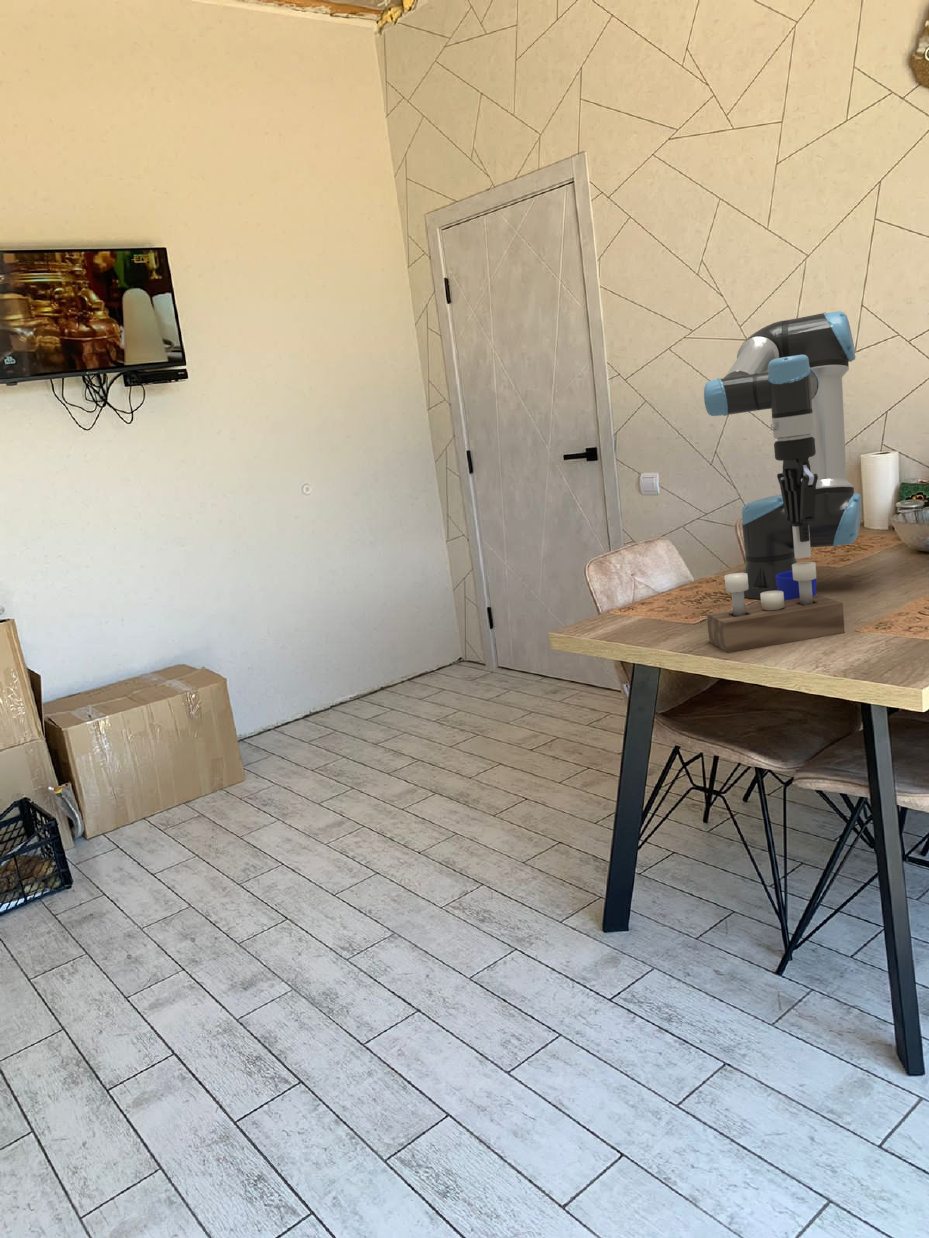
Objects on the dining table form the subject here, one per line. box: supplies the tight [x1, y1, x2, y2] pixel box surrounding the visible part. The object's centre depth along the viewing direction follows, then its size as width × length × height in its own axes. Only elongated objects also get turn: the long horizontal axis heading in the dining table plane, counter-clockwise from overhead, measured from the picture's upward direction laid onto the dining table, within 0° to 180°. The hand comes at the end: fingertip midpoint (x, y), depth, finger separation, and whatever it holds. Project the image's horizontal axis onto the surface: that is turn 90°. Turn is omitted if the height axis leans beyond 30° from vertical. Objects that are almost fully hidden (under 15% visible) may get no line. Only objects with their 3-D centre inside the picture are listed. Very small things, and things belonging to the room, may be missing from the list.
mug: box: [775, 571, 817, 601], centre depth 201 cm, size 8×12×10 cm
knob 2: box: [760, 591, 785, 611], centre depth 188 cm, size 4×4×9 cm
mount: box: [706, 594, 845, 653], centre depth 188 cm, size 10×24×6 cm, turn 96°
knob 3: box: [792, 561, 817, 606], centre depth 187 cm, size 4×4×9 cm
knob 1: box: [723, 572, 749, 617], centre depth 186 cm, size 4×4×9 cm
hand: (802, 557), depth 186 cm, fingers closed
